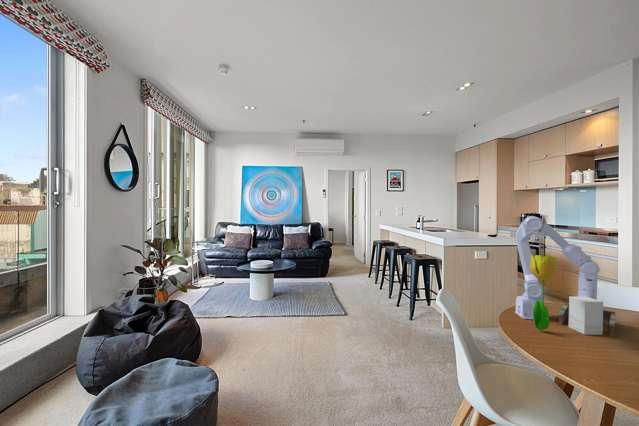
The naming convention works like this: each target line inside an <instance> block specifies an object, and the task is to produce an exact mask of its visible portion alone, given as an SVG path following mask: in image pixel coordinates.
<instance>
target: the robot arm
mask: <svg viewBox="0 0 639 426" xmlns="http://www.w3.org/2000/svg"><path fill="white" fill-rule="evenodd" d="M537 232H538V233H541V234H544V235H546V236H548V237H549V238H550V239H551V240H552V241H553V242H555V244H557V245H558V246H559V247H560V248H561V253H562V255H564V257H566V258H567V259H568V260H569V261H570V262H571V263H572V264H573V265H574V266H576V267H577V269H578V271H579V272H578V284H577V285H578V286H577V296H586V297H590V298H593V299H596V300H598V297H597V296H598V274H599V273H600V271H601V269H600V266H599V264H598V263H597V262H596V261H594V260H593V259H592V257H591V256H590V255H588V254H586V253H585V252H584V251H583V250H582V249H583V248H582V247H581V246H580V245H577V244H573V243H569V242H568V241H567V240H566V239H565V238H564V237H563V236H562V234H561V235H560V233H558V232H557V230H555V229H554V227H552V226H551V225H550V224H548V223H547V222H545V221H543V220H542V218H540V217H537V216H535V215H529V216H526V218H524V219H523V220H522V221H521V222H520V225H519V227H518V229H517V231H515V234H514V238H515V241H516V246H517V250H518V255H519V260H520V263H521V268H522V272H523V276H524V284H523V286H524V291H525V292H523V294H522V295H517V296H516V299H515V311H514V313H515V314H516V315H518V316H519V317H520V318H522V319H524V320H534V316H533V309H534V306H535V304H536V302H537V300H539V301H541V302H542V303H543V286H542V285H541V283H540V282H539V279H537V278H536V277H535V276H534V275H533V274H532V272H531V270H530V262H531V256H532V255H533V254H532V249H531V246H530V243H529V239H530V237H532V236H533V234H536V233H537Z"/></svg>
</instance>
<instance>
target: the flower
mask: <svg viewBox="0 0 639 426" xmlns="http://www.w3.org/2000/svg"><path fill="white" fill-rule="evenodd" d="M530 270H531V272H532V274H533V275H534V276H535V277H536V278H537V279H538V281H541V282H542V289H543V295H542V296H543V303H542V302H541V301H539V300H537V302H536V304H535V306H534V309H533V316H534V319H533V321H534V325H535V328H536V329H538V330H540V332H543V330H546V329H548V327H549V326H550V315H549V311H548V307H547V306H546V305H545V304H544V302H545V301H544V300H545V281H549V280H550V279H552V278H553V277H554V276H555V275H556V273H557V258H556V257H554V256H551V255H549V254H545V255H540V254H539V255H537V254H535V255H533V254H532V256H531V262H530Z"/></svg>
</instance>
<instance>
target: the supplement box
mask: <svg viewBox="0 0 639 426" xmlns="http://www.w3.org/2000/svg"><path fill="white" fill-rule="evenodd" d="M568 303H569V315H568V328H569V329H572V330H574V331H576V332H578V333H580V334H582V335H587V336H588V335H592V336H593V335H594V336H595V335H596V336H597V335H598V336H601V335H603V334H604V333H603V331H604V330H603V329H604V324H603V310H604V301H601V300H599V299H597V300H596V299H593V298H590V297H586V296H578V295H577V296H568Z"/></svg>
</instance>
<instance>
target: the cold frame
mask: <svg viewBox="0 0 639 426" xmlns="http://www.w3.org/2000/svg"><path fill="white" fill-rule="evenodd" d="M568 316H569V302H568V303H567V302H564V304H563V306H562V307H561V309H560V310H559V312H558V325H561V324H562V325H563V323H564V322H565V320H566V319H567V317H568ZM616 317H617V314H616V311H612V310H611V311H609V310H605V309H603V323H604V324H609V325H608V326H609V337H614V334H615V327H616Z"/></svg>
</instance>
